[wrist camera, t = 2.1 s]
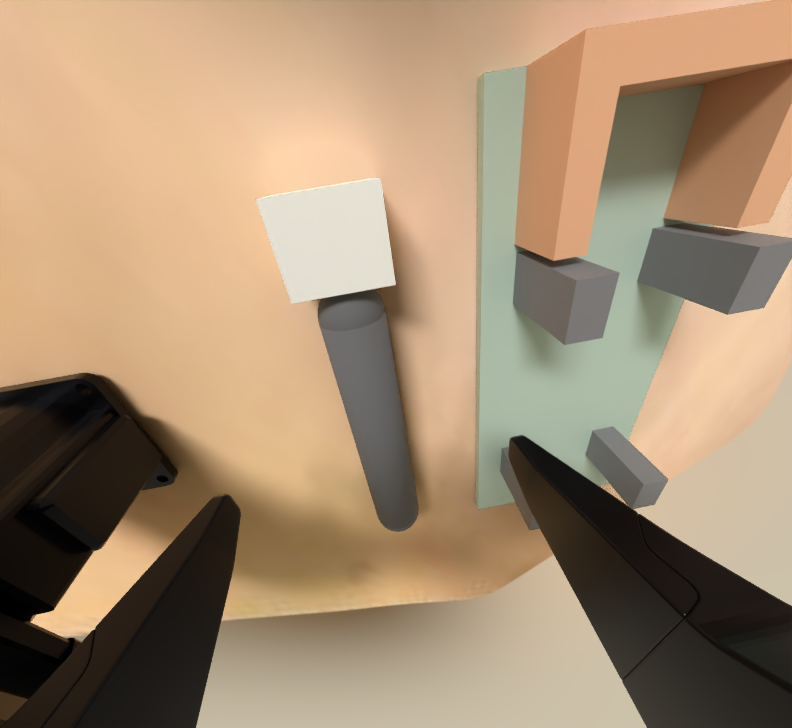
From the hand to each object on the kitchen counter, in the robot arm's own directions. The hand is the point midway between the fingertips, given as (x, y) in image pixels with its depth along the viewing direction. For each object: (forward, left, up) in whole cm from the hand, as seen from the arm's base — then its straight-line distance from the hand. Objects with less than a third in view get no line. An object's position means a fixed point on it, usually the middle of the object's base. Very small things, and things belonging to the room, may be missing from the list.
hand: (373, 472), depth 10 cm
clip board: (+10, -1, -5) cm, 11 cm away
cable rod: (0, -1, -5) cm, 5 cm away
